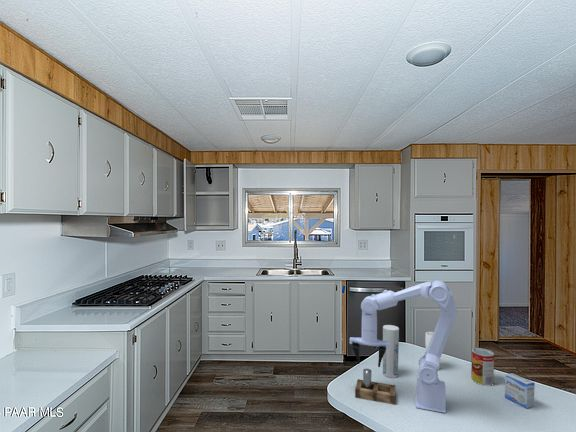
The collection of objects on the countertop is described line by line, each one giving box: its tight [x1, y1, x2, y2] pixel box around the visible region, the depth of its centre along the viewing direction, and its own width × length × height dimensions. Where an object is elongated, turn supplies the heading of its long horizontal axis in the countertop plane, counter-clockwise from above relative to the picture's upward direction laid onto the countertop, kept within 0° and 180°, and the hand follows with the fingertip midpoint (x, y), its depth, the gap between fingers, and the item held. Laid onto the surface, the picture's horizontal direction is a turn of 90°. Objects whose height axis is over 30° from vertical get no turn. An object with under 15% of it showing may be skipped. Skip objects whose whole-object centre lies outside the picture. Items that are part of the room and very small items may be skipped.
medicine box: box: [504, 372, 535, 409], centre depth 121 cm, size 8×4×9 cm, turn 23°
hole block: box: [354, 379, 396, 405], centre depth 124 cm, size 14×8×3 cm, turn 72°
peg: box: [362, 368, 372, 389], centre depth 124 cm, size 3×3×9 cm
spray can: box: [382, 324, 400, 379], centre depth 140 cm, size 6×6×20 cm
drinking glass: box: [424, 331, 441, 371], centre depth 147 cm, size 7×7×15 cm
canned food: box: [470, 347, 495, 386], centre depth 136 cm, size 8×8×12 cm
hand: (368, 364), depth 126 cm, fingers open, 7 cm apart
